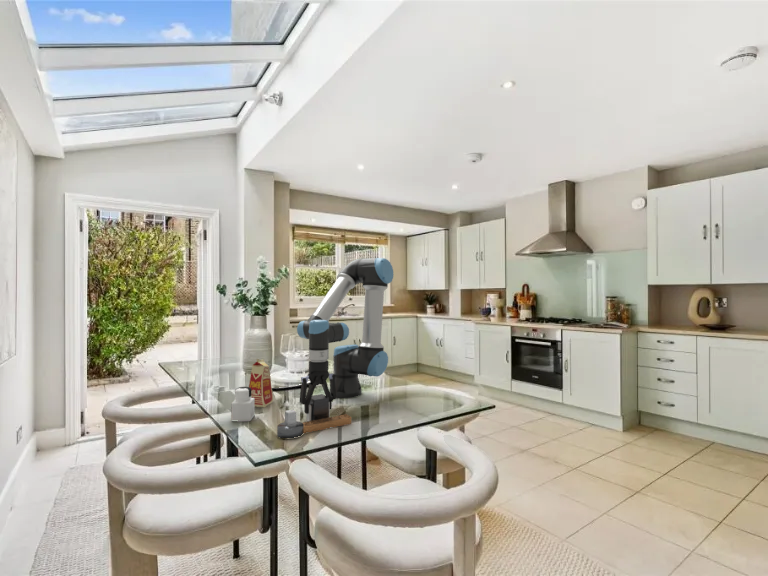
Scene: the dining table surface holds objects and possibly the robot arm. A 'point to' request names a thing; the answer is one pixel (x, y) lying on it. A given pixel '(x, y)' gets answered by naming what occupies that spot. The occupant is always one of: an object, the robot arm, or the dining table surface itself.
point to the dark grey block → (319, 407)
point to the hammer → (308, 424)
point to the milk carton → (261, 384)
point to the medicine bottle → (242, 405)
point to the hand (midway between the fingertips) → (318, 419)
